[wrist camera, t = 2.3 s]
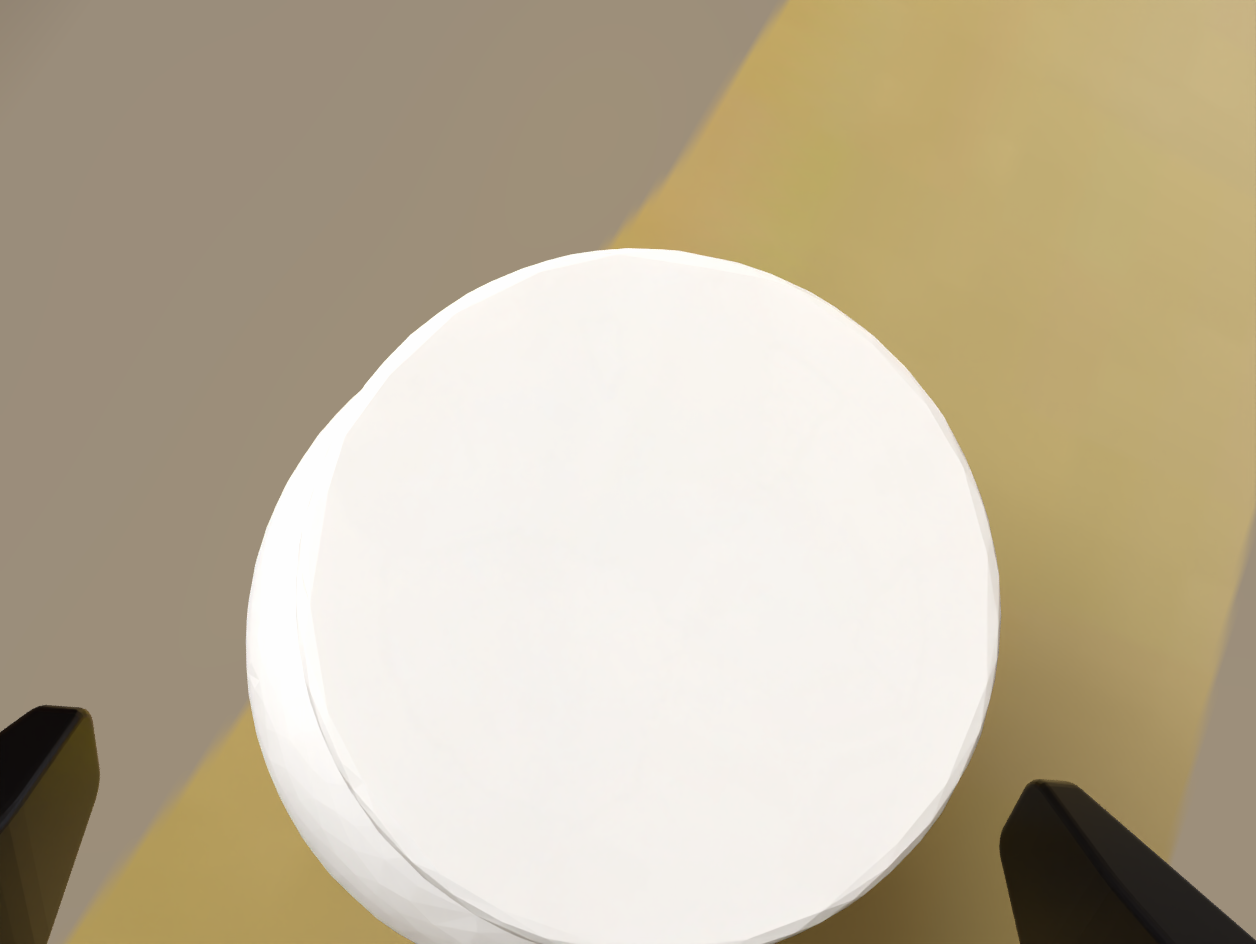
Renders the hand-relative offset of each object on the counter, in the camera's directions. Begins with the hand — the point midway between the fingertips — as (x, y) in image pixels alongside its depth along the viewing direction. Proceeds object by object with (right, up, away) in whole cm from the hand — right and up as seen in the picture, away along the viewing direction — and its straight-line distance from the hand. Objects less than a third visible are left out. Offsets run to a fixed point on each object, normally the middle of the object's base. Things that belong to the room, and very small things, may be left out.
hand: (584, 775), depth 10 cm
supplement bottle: (-1, -1, +9) cm, 9 cm away
